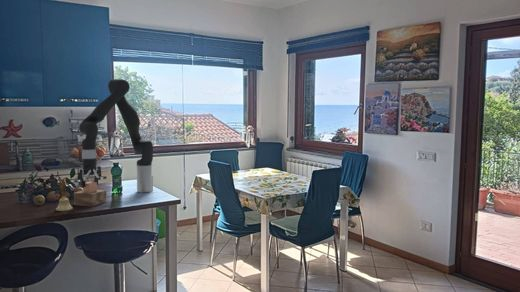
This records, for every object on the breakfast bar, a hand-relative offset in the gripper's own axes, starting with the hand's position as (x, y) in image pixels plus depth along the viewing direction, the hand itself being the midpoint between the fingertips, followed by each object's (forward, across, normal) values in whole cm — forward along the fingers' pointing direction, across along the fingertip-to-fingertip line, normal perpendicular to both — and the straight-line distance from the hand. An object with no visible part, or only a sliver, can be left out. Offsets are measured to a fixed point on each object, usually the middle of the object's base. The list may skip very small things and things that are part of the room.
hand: (89, 185), depth 234 cm
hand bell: (+10, +16, -1) cm, 19 cm away
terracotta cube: (+3, 0, 0) cm, 3 cm away
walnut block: (+10, 0, 0) cm, 10 cm away
